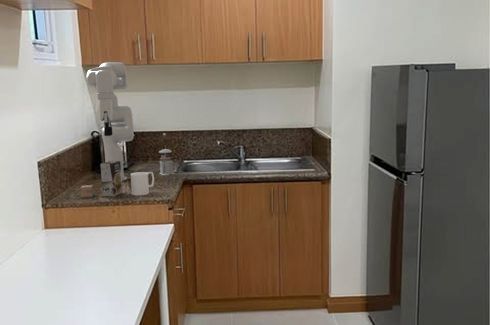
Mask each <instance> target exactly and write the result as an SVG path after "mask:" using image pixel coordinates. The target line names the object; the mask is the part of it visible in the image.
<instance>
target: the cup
mask: <svg viewBox="0 0 490 325" xmlns="http://www.w3.org/2000/svg"><path fill="white" fill-rule="evenodd" d="M150 174H151V178H152V180H151V184H149V175H150ZM130 184H131V186H130V187H131V195H132V196H145V195H149V194H150V188H152V187H154V185H155V176H154V172H153V171H148V172H146V171H139V172H132V173H130Z"/></svg>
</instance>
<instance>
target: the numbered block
mask: <svg viewBox="0 0 490 325" xmlns="http://www.w3.org/2000/svg"><path fill="white" fill-rule="evenodd" d="M93 196H95V195H94V185H93V184H89V185H81V186H80V198H83V199H86V198H93Z"/></svg>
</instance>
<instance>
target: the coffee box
mask: <svg viewBox="0 0 490 325" xmlns="http://www.w3.org/2000/svg"><path fill="white" fill-rule="evenodd" d="M100 176H101V177H100V178H101V189H102V190H101V192H102V197H116V196H119V195H121V194H122V193H123V181H122V178H121V163H120V161H109V162H102V163H100Z"/></svg>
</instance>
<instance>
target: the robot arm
mask: <svg viewBox="0 0 490 325" xmlns="http://www.w3.org/2000/svg"><path fill="white" fill-rule="evenodd" d="M86 83H87V85H88V86H89V87H91V88H96V94H97V98H96V99H97V101H99V120H100V122H103V127H102V129H101V136H102V141H103V148H104V158H105V160H104V161H105V162H109V161H120V163H121V178H122V182H123V181H127V176H125V175H124V174H125V173H124V164H123V163H124V162H123V161H124V160H123V149H122V147H121V146H120V145H119V144H118V143H121V142H131V141H133V139H134V137H135V136H134V121H133V112H132V109H131V107H130V106H129V105H119V103H118V102H119V100H118V96H117V95H116V94H115V93H114V90H116V91H117V90H126V89H127V88H128V85H129V78H128V71H127V66H126V65H125V63H123V62H120V61H119V62H115V61H114V62H112V61H111V62H103V63H101V64H99V67H94V68H91V69H89V70H88V71H87V73H86ZM121 123H122V124H121ZM105 162H104V163H105Z"/></svg>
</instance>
